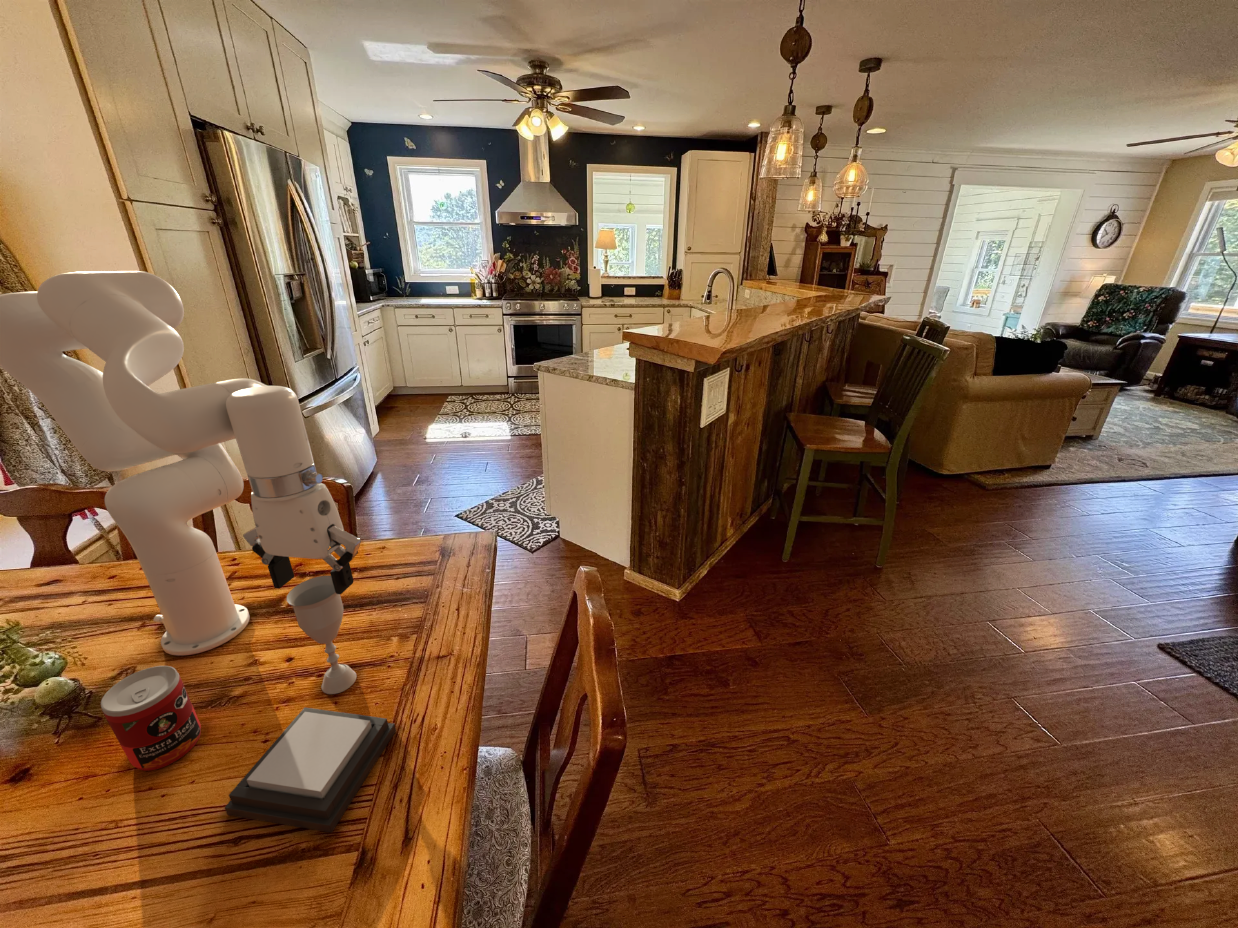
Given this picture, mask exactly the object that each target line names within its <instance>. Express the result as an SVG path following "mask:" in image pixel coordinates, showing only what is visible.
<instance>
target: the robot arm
mask: <svg viewBox="0 0 1238 928" xmlns="http://www.w3.org/2000/svg"><path fill="white" fill-rule="evenodd" d="M184 318H185V308H184V304H183V301H182V299H181V297H180V295H179V294H178V292H177V291H176V289H175V288H174V287H173V286H172V285H171V284H170V283H169V282H167V281H166V280H165V279H163V278H162V277H160V276H158V275H156V274H154V273H152V272H147V271H139V270H117V271H113V270H112V271H111V270H110V271H109V270H108V271H74V272H73V271H71V272H69V271H68V272H63V273H59V274H56V275H53V276H50V277H49V278H47V279H45V280H44V281H42V283H41V284H40V285H39V287H38V289H37V291H20V292H19V291H18V292H10V293H9V292H8V293H3V294H0V368H1V369H2V370H4V371H5V372H6V373H7V374H8V375H10V376H11V377H12V378H14V379H15V380H16V381H18V383H20V384H21V385H23V386H24V387H25V388H27V390H29V391H30V392H31V393H32V394H33V395H35V396H36V398H38V400H39V401H40V402H41V403H42V404H43V405H44V407H45V408H46V409H47V411H48V413H49V414H50V415H51V417H52V418H53V419H54V420H55V422H56V424H57V425H58V426H59V427H60V429H61V430H62V432H64V434H65V436H66V437H67V438H68V439H69V441H70V442H71V444H72V445H73V446H74V448H75V449H76V450H77V452H78V453H79V454H80V455H81V456H82V457H83V459H84V460H85V461H86V462H87V463H88V464H89V465H90V466H92V467H93V468H95V469H96V470H99V471H102V472H111V473H112V472H119V471H123V470H127V469H132V468H135V467H139V466H142V465H143V466H144V465H146V464H150V463H153V462H155V461H156V462H157V461H160V460H163V459H166V458H169V457H172V456H177V457H179V458H180V459H181V460H177V461H175V462H172V463H168V464H164V465H161V466H158V467H155V468H151V469H148V470H144V471H142V472H139V473H135V474H133V475H130V476H127V477H126V478H123V479H121V480H119V481H118V482H116V483H115V484H113V485H112V486H110V488H109V489H108V490H107V492H106V493H105V496H104V505H105V508H106V510H107V512H108V514H109V516H110V518H112V520H113V521H114V522H115V524H116V526H118V528H119V529H120V531H121V532H122V534H123V535H124V536H125V538H126V539H127V542H128V543H129V544H130V546H131V548H132V550H133V552H134V554H135V557H136V559H137V560H138V563H139V565H140V568H141V569H142V572H143V574H144V576H145V579H146V581H147V583H148V586H149V588H150V590H151V593H152V595H153V597H154V599H155V602H156V604H157V607H158V609H159V613H160V614H156V615H155V616H154V617H153V619H152V620H153V622H154V623H158V624H163V626H164V628H165V632H164V633H163V635H162V636H161V639H160V646H161V648H162V650H163V651H164V652H165V653H166V654H169V655H170V656H180V657H181V656H191V655H196V654H200V653H201V654H202V653H204V652H207V651H210V650H212V649H215V648H217V647H220V646H222V645H223V644H225V643H227V642H228V641H231V640H232V639H233V638H235V637H236V636H238V635H239V634H240V633H241V632H242V631H243V630H244V629H245V628H246V627H247V626H248V624H249V622H250V619H251V618H250V617H251V615H250V613H249V610H248V608H247V607H246V606H244V605H241V604H237V603H235V601H234V598H233V595H232V593H231V590H230V587H229V584H228V581H227V579H226V576H225V573H224V570H223V568H222V565H221V562H220V558H219V557H218V554H217V550H216V548H215V546H214V542H213V540H212V539H211V537H210V536H209V535H208V534H207V533H206V532H204V531H203V530H200V529H198V528H195V527H192V526H190V525H188V522H189V521H190V520H192V519H195V518H197V517H198V516H200V515H203V514H205V513H208V512H211V511H213V510H215V509H218V508H220V507H222V506H225V505H227V504H229V503H231V502H234V501H235V500H237V499H238V498H239V497H240V496H241V495H242V494H243V491H244V486H245V485H244V479H243V476H242V475H241V472H240V470H239V469H238V466H237V465H236V464H235V462H234V461H233V459H232V457H231V456H230V454H229V453H228V452H227V450H226V449H225V447H224V446H223V444H222V443H226V442H228V441H231V440H236V444H237V447H238V451H239V454H240V456H241V461H242V463H243V466H244V469H245V472H246V476H247V479H248V482H249V485H250V489H251V493H250V499H251V500H250V501H251V510H252V511H251V512H252V517H253V521H254V527H253V528H252V529H250V530H248V531H246V532H245V533H243V534H242V536H243V537H242V538H244V540H245V541H246V542H247V543H248V544H249V546H251V550H252V551H253V553H254V554H256V555H257V556H259V557H260V558H261V563H262V564H263V565H265V566H267V569H268V572H269V575H270V579H271V582H272V584H273V587H274V589H281V588H283V587H284V586H285V585H287V584H288V583H289V582H290V581H291V580H293V579H294V578H295V573H294V570H293V567H292V563H291V559H290V558H300V559H309V560H310V559H311V560H323V561H324V562H325V563H326V564H327V565H329V567H330V568H331V571H330V576H331V578H332V581H333V585H334V589H335V593H336V594H340V595H342V594H343V593H344V592H345V591H346V590H348V589H349V588H350V587H351V586H352V585H353V584H354V582H355V581H354V577H353V573H352V572H353V571H352V567H351V564H350V562H352V561H353V560H354V558H356V556H357V555H358V553H359V549H360V546H361V543H362V541H361V539H360V538H359V537H357V536H355V535H353V534H352V533H349V532H347V531H345V529H344V525H343V522H342V519H341V517H340V514H339V511H338V508H337V505H336V503H335V500H334V498H333V496H332V494H331V492H330V491H329V489H328V487H327V486H326V484H325V483H322V482H323V480H324V476H323V474H322V473H318V471H317V468H316V464H315V461H314V456H313V452H312V448H311V445H310V441H309V435H308V431H307V429H306V425H305V421H304V416H303V413H302V409H301V405H300V402H299V398H298V396H297V394H296V393H295V391H294V390H292V389H291V388H290V387H286V386H282V385H267V384H265V383H263V382H261V381H259V380H256V379H252V378H247V377H243V378H242V377H240V378H233V379H232V378H231V379H227V380H222V381H217V382H212V383H205V384H200V385H196V386H190V387H184V388H180V389H176V390H172V391H171V390H170V391H167V392H166V391H165V392H158V391H156V390H154V389H153V388H151V387H149V386H151V385H152V384H154V383H156V382H157V381H159V380H161V379H162V378H163V377H164V376H167V374H169V373H170V372H171V371H173V370H174V369H175V368H176V367H177V366H178V364H179V363H180V361H181V360H182V358H183V356H184V351H185V345H184V344H185V343H184V341H183V339H182V336H181V335H180V334H179V333H178V331H177V330H175V329H176V328H178V327H179V326H180V324H182V322H183V320H184ZM88 349H89V351H91V353H93V354H95V355H96V356H97V357H98V358H100V359H101V360H103V361H104V362H105V364H104V367H103V371H101V370H99V369H98V368H96V367H93V366H92V365H89V364H88V363H86V362H83V361H81V360H79V359H76V358H73V357H71V356H68V355H66V354H64V352H67V351H68V352H69V351H79V350H88ZM342 545H343V546H342ZM333 553H335V554H336V555H337V556H339V558H338V559H337V558H336V557H335V556H334V555H333Z"/></svg>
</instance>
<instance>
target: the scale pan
mask: <svg viewBox="0 0 1238 928" xmlns="http://www.w3.org/2000/svg"><path fill="white" fill-rule="evenodd" d="M371 729H372V726H371V722H370V721H368V720H361V719H353V718H346V717H339V716H332V715H325V714H317V713H310V712H304V713H303V715H302V716H301V717H300V718H299V719H298V720H297V722H296V723H295V724H294V725H293V726H292V727H291V729H290V730H289V731H288V732H287V733H286V734H285V736H284V737H283V738H282V739H281V740H280V741H279V743H278V744H277V745H276V746H275V747H274V748H273V750H272V751H271V752H270V753H269V754H268V755H267V757H266V758H265V759H264V760H263V761H262V762H261V764H260V765H259V766H258V767H257V768H256V769H255V771H254V772H253V773H252V774H251V775H250V776H249V778H248V779H247V782H248V784H249V787H250V788H253V789H259V790H266V791H272V792H278V793H284V794H290V795H296V796H303V797H309V798H315V799H321V800H323V799H324V798H325V796H326V795H327V793H328V792H329V791H330V789H331V788H332V786H333V785H334V783H335V782H336V780H337V779H338V777H339V776H340V774H341V773H342V772H343V770H344V769H345V767H346V766H347V764H348V763H349V761H350V760H351V758H352V757H353V755H354V754H355V752H356V751H357V750H358V748H359V747H360V745H361V744H362V742H363V741H364V739H365V738H366V736H367V735H368V733H369V732H370V731H371Z"/></svg>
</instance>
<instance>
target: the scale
mask: <svg viewBox="0 0 1238 928" xmlns="http://www.w3.org/2000/svg"><path fill="white" fill-rule="evenodd" d="M304 712H310V713H317V714H325V715H332V716H339V717H346V718H353V719H361V720H368V721H370V722H371V726H372V729H371V731H370V732H369V733H368V735H367V736H366V738H365V739H364V741H363V742H362V744H361V745H360V747H359V748H358V750H357V751H356V752H355V754H354V755H353V757H352V758H351V760H350V761H349V763H348V764H347V766H346V767H345V769H344V770H343V772H342V773H341V774H340V776H339V777H338V779H337V780H336V782H335V783H334V785H333V786H332V788H331V789H330V791H329V792H328V793H327V795H326V796H325V798H324V799H323V800H321V799H315V798H309V797H303V796H296V795H290V794H284V793H278V792H272V791H266V790H259V789H253V788H250V787H249V784H248V782H247V779H248V778H249V776H250V775H251V774H252V773H253V772H254V771H255V769H256V768H257V767H258V766H259V765H260V764H261V762H262V761H263V760H264V759H265V758H266V757H267V755H268V754H269V753H270V752H271V751H272V750H273V748H274V747H275V746H276V745H277V744H278V743H279V741H280V740H281V739H282V738H283V737H284V736H285V734H286V733H287V732H288V731H289V730H290V729H291V727H292V726H293V725H294V724H295V723H296V722H297V720H298V719H299V718H300V717H301V716H302V715H303V713H304ZM396 732H397V729H396V724H395V723H393V722H388V718H384V717H377V716H371V715H363V714H357V713H349V712H343V711H342V712H341V711H333V710H327V709H319V708H313V707H307V706H306V707H305V706H304V707H303V708H302V710H301V711H300V712H299V713H298V714H297V715H296V717H295V718H294V719H293V720H292V721H291V722H290V724H289V725H287V727H286V728H285V729H284V730H283V731H282V732H281V734H280V735H279V736H278V737H277V739H276V740H275V741H274V742H273V743H272V744H271V745H270V747H269V748H268V749H267V750H266V751H265V752H264V754H263V755H262V756H261V757H260V758H259V759H258V760H257V762H256V763H255V764H253V766H252V767H251V768H250V769H249V771H248V772H247V773H246V774H245V776H244V777H243V778H242V779H241V780H240V781H239V782H238V783H237V785H236V786H235V787H234V788H233V789H232V791H231V792H230V793H229V794H228V797H229V801H228V803H227V804H226V805H225V806H224V811H225V813H226V815H227V816H231V817H237V818H243V819H249V820H255V821H261V822H266V823H271V824H272V823H273V824H278V825H285V826H290V827H295V828H296V827H297V828H302V829H308V830H313V831H318V832H325V833H332V834H333V832H334V830H335V829H336V827H337V826H338V824H339V822H340V821H341V819H342V817H343V816H344V814H345V813H346V811H347V809H348V808H349V806H350V804H351V803H352V801H353V800H354V798H355V797H356V795H357V794H358V792H359V790H360V789H361V787H362V786H363V784H364V783H365V781H366V779H367V778H368V776H369V775H370V773H371V772H372V770H373V768H374V766H375V765H376V763H377V762H378V760H379V758H381V755H382V754H383V752H384V751H385V749H386V748H387V746H388V744H389V743H390V741H391V740H392V738H393V737H394V735H395V733H396Z"/></svg>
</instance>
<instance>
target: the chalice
mask: <svg viewBox="0 0 1238 928" xmlns="http://www.w3.org/2000/svg"><path fill="white" fill-rule="evenodd" d="M286 602H287V603H288V605H290V606H292V608H293V612H294V614H295V618H296V622H297V625H298V627H299V628H300V629H301V631H303V632H304V634H306V636H307V637H309V638H310V639H312V640H313V641H315V642H316V643H317V644H320V645H325V649H324V653H325V654H327V655H328V656H327V658H326V662H327V663H328V664H330V665H331V667H329V668H328V669H327V670H326V672H325V673H324V674H323V675H324V676H323V679H322V684H321V691H322V692H323V693H324V694H327V695H336V694H339V693H342V692H345V691H346V690H348V689H349V688H350V687H351V686H353V685H354V683H355V682H356V680H357V673H356V672H355V670H353V669H352V668H351V667H350V666H349V665H348V664H344V663H339V661H338V660H339V659H340V655H339V654H338V653H336V649H337V646H336V645H335V644H334V643H333V641H334V640H335V639H336V638H337V637H338V634H339V631H340V627H341V625H342V622H343V617H344V610H345V609H344V604H343V601H342V596H341V594H336V593H335V589H334V585H333V581H332V578H331V575H319V576H315V577H312V578H309V579H306V580H304V581H302V582H300V583H298V584H297V585H295V586H294V587H293V588H292V589H291V590H290V591H288V594H287V595H286Z"/></svg>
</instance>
